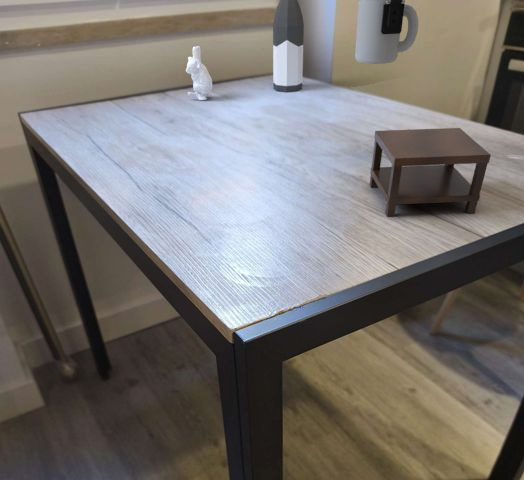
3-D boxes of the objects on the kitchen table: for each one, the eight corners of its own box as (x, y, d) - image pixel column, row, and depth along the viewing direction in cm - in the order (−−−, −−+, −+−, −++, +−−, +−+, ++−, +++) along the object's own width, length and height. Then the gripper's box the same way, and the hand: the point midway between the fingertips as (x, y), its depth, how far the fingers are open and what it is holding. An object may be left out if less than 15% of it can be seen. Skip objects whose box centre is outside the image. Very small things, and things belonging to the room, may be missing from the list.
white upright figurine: (188, 95, 139) (183, 44, 131) (213, 94, 139) (209, 43, 132) (188, 103, 132) (182, 50, 125) (213, 102, 133) (210, 49, 125)
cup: (357, 55, 92) (362, -5, 86) (415, 56, 89) (423, -6, 84) (351, 64, 87) (355, 0, 81) (412, 65, 84) (420, -1, 78)
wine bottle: (302, 85, 145) (306, -48, 126) (301, 92, 139) (304, -47, 120) (274, 85, 146) (274, -48, 127) (271, 92, 140) (270, -46, 121)
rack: (448, 181, 89) (459, 127, 83) (475, 213, 79) (491, 154, 73) (368, 184, 89) (375, 130, 83) (386, 217, 79) (394, 158, 73)
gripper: (444, -118, 68) (421, 37, 79) (410, -110, 81) (395, 22, 92) (387, -116, 67) (373, 39, 79) (363, -108, 81) (354, 23, 92)
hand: (385, 29), depth 85 cm, fingers closed on cup, 7 cm apart
